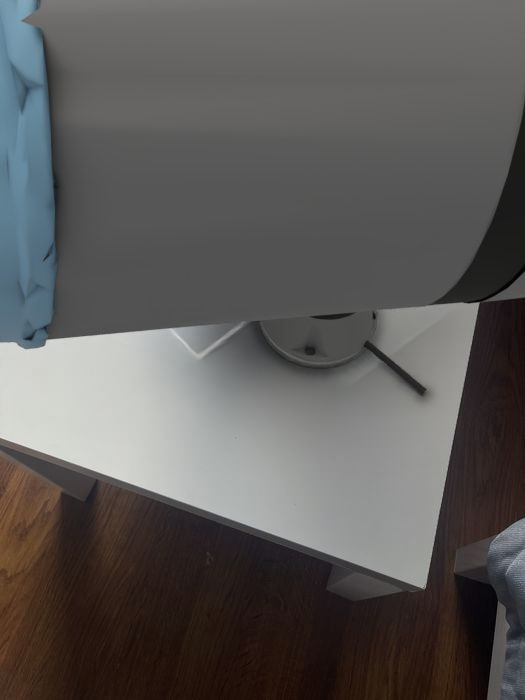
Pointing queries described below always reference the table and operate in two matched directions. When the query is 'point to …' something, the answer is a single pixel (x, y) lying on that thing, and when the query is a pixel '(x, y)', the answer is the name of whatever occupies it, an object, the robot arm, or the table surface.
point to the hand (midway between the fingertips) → (201, 165)
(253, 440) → the table surface
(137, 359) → the table surface
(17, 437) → the table surface
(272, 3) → the robot arm
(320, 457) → the table surface
